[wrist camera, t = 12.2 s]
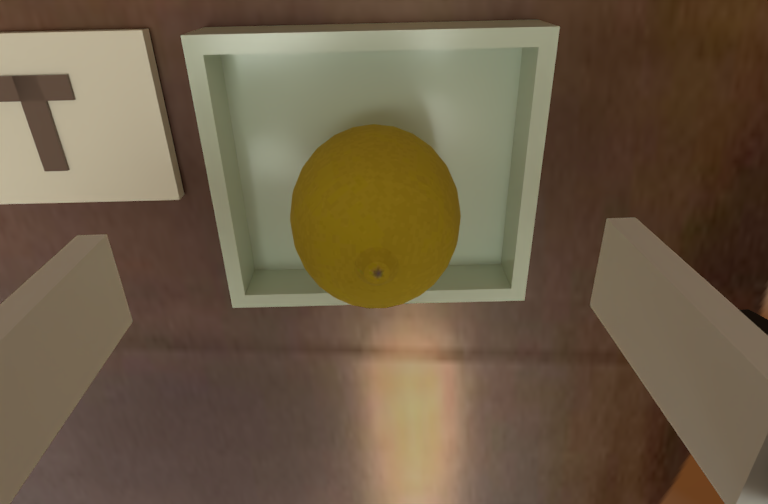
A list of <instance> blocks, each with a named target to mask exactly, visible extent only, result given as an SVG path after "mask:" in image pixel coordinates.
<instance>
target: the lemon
mask: <svg viewBox="0 0 768 504" xmlns="http://www.w3.org/2000/svg"><path fill="white" fill-rule="evenodd" d="M460 219H461V213H460V205H459V199H458V192H457V188H456V185H455V183H454V181H453V178H452V176H451V174H450V172H449V169H448V167H447V165H446V164H445V163H444V161H443V160H442V159H441V158H440V157H439V155H438V154H437V153H436V152H435V150H434V149H433V148H432V147H431V146H430V145H428V144H427V143H426V142H424V141H423V140H421V139H420V138H419V137H417V136H416V135H414V134H413V133H410V132H408V131H405V130H402V129H400V128H397V127H394V126H386V125H378V124H371V125H364V126H357V127H352V128H350V129H348V130H345V131H343V132H340V133H338V134H336V135H334V136H333V137H331V138H330V139H329V140H327V141H326V142H325V143H323V144H322V145H321V146H319V147H318V148H317V149H316V150H315V152H314V153H313V154H312V155H311V157H310V158H309V159H308V161H307V162H306V163H305V165H304V166H303V167H302V170H301V172H300V175H299V177H298V180H297V182H296V185H295V187H294V190H293V194H292V202H291V212H290V223H291V229H292V235H293V240H294V245H295V249H296V251H297V253H298V255H299V257H300V259H301V262H302V264H303V266H304V268H305V270H306V271H307V272H308V274H309V275H310V276H311V277H312V278H313V280H314V281H315V282H316V283H317V284H318V286H319V287H321V288H322V289H323V290H325V291H326V292H327V293H329V294H330V295H332V296H333V297H335V298H337V299H339V300H341V301H344V302H346V303H348V304H351V305H354V306H360V307H365V308H388V307H392V306H396V305H400V304H404V303H406V302H408V301H410V300H412V299H414V298H416V297H418V296H420V295H421V294H423V293H424V292H425V291H426V290H428V289H429V288H430V287H432V286H433V285H434V284H435V283H436V282H437V280H438V279H439V278H440V276H441V275H442V274H443V272H444V271H445V270H446V268H447V267H448V265H449V262H450V260H451V258H452V255H453V253H454V251H455V248H456V245H457V241H458V235H459V227H460Z"/></svg>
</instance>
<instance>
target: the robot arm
mask: <svg viewBox="0 0 768 504" xmlns="http://www.w3.org/2000/svg"><path fill="white" fill-rule="evenodd" d="M590 307H591V308H592V309H593V311H594V312H595V314H596V315H597V317H598V318H599V320H600V321H601V323H602V324H603V326H604V327H605V329H606V330H607V331H608V333H609V334H610V336H611V337H612V339H613V340H614V342H615V343H616V345H617V346H618V348H619V349H620V351H621V352H622V353H623V355H624V356H625V358H626V359H627V361H628V362H629V364H630V365H631V367H632V368H633V370H634V371H635V372H636V374H637V375H638V377H639V378H640V380H641V381H642V383H643V384H644V386H645V387H646V389H647V390H648V392H649V393H650V394H651V396H652V397H653V399H654V400H655V402H656V403H657V405H658V406H659V408H660V409H661V411H662V412H663V414H664V415H665V416H666V418H667V419H668V421H669V422H670V424H671V425H672V427H673V428H674V430H675V431H676V433H677V434H678V436H679V437H680V438H681V440H682V441H683V443H684V444H685V446H686V447H687V449H688V450H689V452H690V453H691V455H692V456H693V457H694V459H695V460H696V462H697V463H698V465H699V466H700V468H701V469H702V471H703V472H704V474H705V475H706V477H707V478H708V479H709V481H710V482H711V484H712V485H713V487H714V488H715V490H716V491H717V493H718V494H719V496H720V497H721V498H722V500H723V501H724V503H725V504H768V320H767V319H765V318H764V317H762V316H760V315H758V314H756V313H754V312H752V311H750V310H738V309H737V308H736V307H735V306H734V305H733V304H732V303H731V302H730V301H728V300H727V299H726V298H725V297H724V296H723V295H722V294H721V293H719V292H718V291H717V290H716V289H715V288H714V287H713V286H712V285H710V284H709V283H708V282H707V281H706V280H705V279H704V278H703V277H702V276H700V275H699V274H698V273H697V272H696V271H695V270H694V269H693V268H691V267H690V266H689V265H688V264H687V263H686V262H685V261H684V260H682V259H681V258H680V257H679V256H678V255H677V254H676V253H675V252H673V251H672V250H671V249H670V248H669V247H668V246H667V245H666V244H665V243H663V242H662V241H661V240H660V239H659V238H658V237H657V236H656V235H654V234H653V233H652V232H651V231H650V230H649V229H648V228H647V227H645V226H644V225H643V224H642V223H641V222H640V221H639V220H638V219H637V218H635V217H633V218H607V219H606V224H605V230H604V235H603V240H602V245H601V250H600V255H599V260H598V265H597V271H596V276H595V281H594V286H593V291H592V296H591V301H590ZM132 322H133V320H132V317H131V314H130V310H129V307H128V303H127V300H126V297H125V293H124V290H123V287H122V283H121V280H120V277H119V273H118V270H117V266H116V263H115V260H114V256H113V253H112V250H111V246H110V243H109V240H108V236H107V234H101V235H77V236H76V237H75V238H74V239H72V240H71V241H70V242H69V243H68V244H67V245H66V246H65V247H64V248H62V249H61V250H60V251H59V252H58V253H57V254H56V255H55V256H54V257H52V258H51V259H50V260H49V261H48V262H47V263H46V264H45V265H44V266H42V267H41V268H40V269H39V270H38V271H37V272H36V273H35V274H34V275H32V276H31V277H30V278H29V279H28V280H27V281H26V282H25V283H24V284H22V285H21V286H20V287H19V288H18V289H17V290H16V291H15V292H14V293H12V294H11V295H10V296H9V297H8V298H7V299H6V300H5V301H3V302H2V303H1V304H0V504H10V503H11V502H12V500H13V499H14V497H15V496H16V494H17V493H18V491H19V490H20V488H21V487H22V485H23V484H24V482H25V481H26V479H27V478H28V476H29V475H30V473H31V472H32V470H33V469H34V467H35V466H36V464H37V463H38V461H39V460H40V458H41V457H42V455H43V454H44V453H45V451H46V450H47V448H48V447H49V445H50V444H51V442H52V441H53V439H54V438H55V436H56V435H57V433H58V432H59V430H60V429H61V427H62V426H63V424H64V423H65V421H66V420H67V418H68V417H69V415H70V414H71V412H72V411H73V409H74V408H75V406H76V405H77V404H78V402H79V401H80V399H81V398H82V396H83V395H84V393H85V392H86V390H87V389H88V387H89V386H90V384H91V383H92V381H93V380H94V378H95V377H96V375H97V374H98V372H99V371H100V369H101V368H102V366H103V365H104V363H105V362H106V360H107V359H108V357H109V356H110V355H111V353H112V352H113V350H114V349H115V347H116V346H117V344H118V343H119V341H120V340H121V338H122V337H123V335H124V334H125V332H126V331H127V329H128V328H129V326H130V325H131V323H132Z"/></svg>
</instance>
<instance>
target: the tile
mask: <svg viewBox="0 0 768 504" xmlns="http://www.w3.org/2000/svg"><path fill="white" fill-rule="evenodd" d="M183 195H184V190H183V185H182V181H181V176H180V171H179V167H178V162H177V158H176V153H175V148H174V144H173V139H172V135H171V130H170V125H169V121H168V116H167V111H166V107H165V102H164V98H163V93H162V88H161V84H160V79H159V75H158V70H157V65H156V61H155V56H154V52H153V47H152V42H151V38H150V33H149V28H146V29H103V30H60V31H17V32H0V204H31V203H72V202H113V201H155V200H180V199H181V198H182V197H183Z"/></svg>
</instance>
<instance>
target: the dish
mask: <svg viewBox="0 0 768 504" xmlns="http://www.w3.org/2000/svg"><path fill="white" fill-rule="evenodd" d="M559 30H560V26H557V25H554V24H551V23H547V22H544V21H541V20H538V19H533V20H490V21H447V22H404V23H361V24H318V25H275V26H232V27H203V28H200V29H197V30H194V31H191V32H189V33H186V34H183V35H181V41H182V46H183V51H184V56H185V62H186V67H187V72H188V77H189V83H190V88H191V93H192V98H193V103H194V109H195V114H196V119H197V124H198V130H199V135H200V140H201V145H202V151H203V156H204V161H205V166H206V171H207V177H208V182H209V187H210V192H211V198H212V203H213V208H214V213H215V219H216V224H217V229H218V234H219V239H220V245H221V250H222V255H223V260H224V266H225V271H226V276H227V281H228V287H229V292H230V297H231V302H232V307H233V308H248V307H288V306H328V305H351V304H348V303H346V302H344V301H341V300H339V299H337V298H335V297H333V296H332V295H330V294H329V293H327V292H326V291H325V290H323V289H322V288H321V287H319V286H318V284H317V283H316V282H315V281H314V280H313V278H312V277H311V276H310V275H309V274H308V272H307V271H306V270H305V268H304V266H303V264H302V262H301V259H300V257H299V255H298V253H297V251H296V249H295V245H294V240H293V235H292V229H291V223H290V212H291V202H292V194H293V190H294V187H295V185H296V182H297V180H298V177H299V175H300V172H301V170H302V167H303V166H304V165H305V163H306V162H307V161H308V159H309V158H310V157H311V155H312V154H313V153H314V152H315V150H316V149H317V148H318V147H319V146H321V145H322V144H323V143H325V142H326V141H327V140H329V139H330V138H331V137H333V136H334V135H336V134H338V133H340V132H343V131H345V130H348V129H350V128H352V127H357V126H364V125H371V124H378V125H386V126H394V127H397V128H400V129H402V130H405V131H408V132H410V133H413V134H414V135H416V136H417V137H419V138H420V139H421V140H423V141H424V142H426V143H427V144H428V145H430V146H431V147H432V148H433V149H434V150H435V152H436V153H437V154H438V155H439V157H440V158H441V159H442V160H443V161H444V163H445V164H446V165H447V167H448V169H449V172H450V174H451V176H452V178H453V181H454V183H455V185H456V188H457V192H458V199H459V205H460V213H461V219H460V227H459V235H458V241H457V245H456V248H455V251H454V253H453V255H452V258H451V260H450V262H449V265H448V267H447V268H446V270H445V271H444V272H443V274H442V275H441V276H440V278H439V279H438V280H437V282H436V283H435V284H434V285H433V286H432V287H430V288H429V289H428V290H426V291H425V292H424V293H423V294H421V295H420V296H418V297H416V298H414V299H412V300H410V301H408V302H406V303H404V304H408V303H448V302H489V301H524V300H525V293H526V285H527V277H528V269H529V262H530V254H531V246H532V238H533V231H534V223H535V215H536V208H537V200H538V192H539V184H540V177H541V169H542V161H543V153H544V146H545V138H546V130H547V122H548V115H549V107H550V99H551V92H552V84H553V76H554V68H555V61H556V53H557V45H558V37H559Z"/></svg>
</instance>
